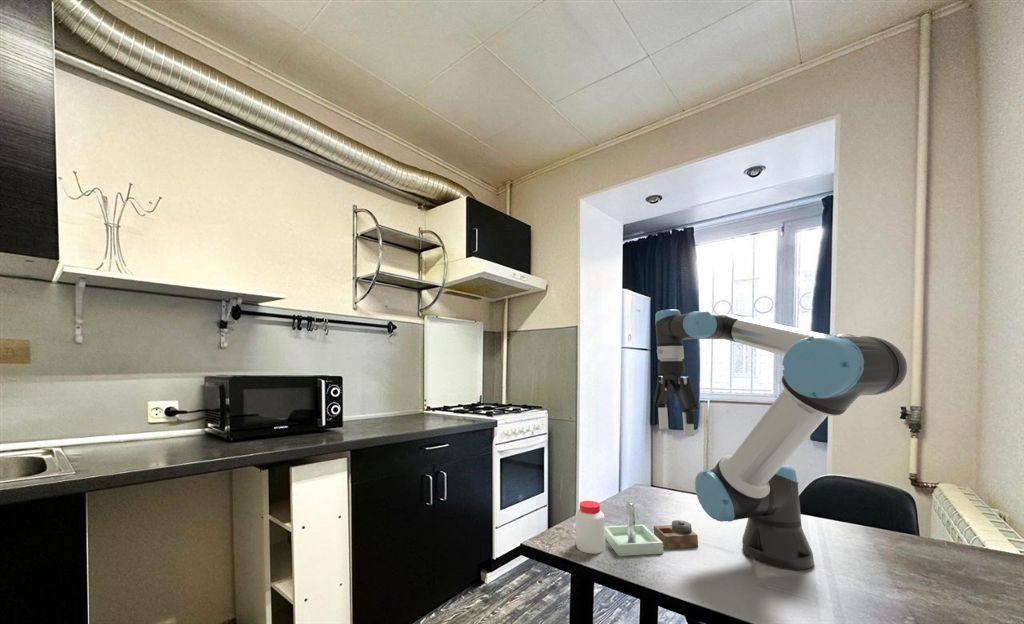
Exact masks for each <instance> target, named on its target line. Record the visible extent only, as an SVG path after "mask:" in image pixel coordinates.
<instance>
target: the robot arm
mask: <svg viewBox="0 0 1024 624" xmlns="http://www.w3.org/2000/svg"><path fill="white" fill-rule="evenodd" d="M654 326H655V336H656V337H655V338H656V348H657V349H656V353H657V359H658V360H659V361H658V363H657V368H658V373H659V374H662V375H657V376H656V387H655V392H654V397H653V405H655V406H656V408H657V413H658V428H659V429H658V430H669V416H668V415H669V414H668V405H667V403H668V401H669V399H670V396H671V394H672V393H673V394H675V396H676V398H677V399H678V401H679V403H680V406H681V407H682V411H681V412H682V414H681V415H682V427H683V436H684V437H695V425H694V423H695V422H694V421H695V420H694V412H695V411H698V410H699V406H698V403H697V401H696V397H695V395H694V393H693V390H692V387H691V384H690V378H689V376H682V374H685V373H686V367H685V365H686V364H685V362H684V361H683V360H684V359H685V354H684V353H685V352H684V343H683V341H684V340H726V341H729V342H734V343H739V344H741V345H744V346H749V347H751V348H754V349H755V348H756V349H759V350H762V351H765V352H769V353H772V354H775V355H779V356H783V358H782V366H783V369H782V377H781V379H780V380H781V385H782V387H783V389H782V391H781V392H780V393H779V395H778V396H777V397H776V398H775V400H774V401H773V402H772V404H771V405H770V406H769V408H768V409H767V410H766V412H765V413H764V414H763V415H762V417H761V418H760V420H758V422H757V424H755V426H754V427H753V428H752V429H751V431H750V432H749V433H748V435H747V436H746V437H745V439H744V440H743V441H742V443H740V445H739V446H738V448H737V449H735V452H734V453H733V454H725V455H723V456H722V457H721V458H720V459H719V460H718V462H717V463H716V465H715V466H714V467H712V469H704V470H702V471H700V472H698V473H697V474H696V476H695V480H694V489H695V494H696V496H697V499H698V500H697V501H698V503H699V504H700V506H701V508H702V509H703V511H704V512H705V513H706V514H707V516H709V517H710V518H712V519H713V520H715V521H717V522H722V523H723V522H727V523H728V522H734V521H739V520H745V519H747V521H746V526H745V528H744V531H743V536H742V540H741V543H742V544H741V545H742V550H743V552H744V553H745V554H746V555H747V556H748V557H750V558H751V559H753V560H755V561H757V562H759V563H761V564H765V565H768V566H771V567H774V568H779V569H783V570H784V569H785V570H796V571H800V570H806V569H807V570H808V569H811V568H812V567H813V566H814V564H815V561H814V553H813V550H812V548H811V546H810V544H809V543H810V542H809V541H808V539H807V537H806V534H805V532H804V529H803V527H802V517H801V515H802V514H801V504H800V493H799V481H798V478H797V472H796V469H795V468H794V467H792V466H791V465H788V464H786V462H788V460H790V458H791V457H792V456H793V455H794V454H795V453H796V452H797V451H798V449H799V448H801V446H802V445H803V444H804V443H805V442H806V441H807V440H808V438H809V437H811V436H812V434H813V433H814V432H815V430H816V429H817V428H818V427H819V426H820V425H821V424H822V423H823V422H824V421H825V419H826V418H827V417H828V416H829V417H838V416H841V415H843V414H844V413H845V412H846V411H847V410H848V409H849V408H850V407H851V406H852V405H853V403H855V401H857V399H858V398H860V396H873V395H874V396H875V395H881V394H886V393H889V392H892V391H893V390H894V389H896V388H898V387H899V386H900V385H901V384H902V383H903V381H904V380H905V377H906V376H907V372H908V364H907V359H906V357H905V356H904V354H903V352H902V351H901V350H900V349H899V348H898V347H897V346H896V345H895V344H893V343H891V342H890V341H887V340H886V339H884V338H879V337H876V336H867V335H862V336H861V335H854V334H849V333H840V334H837V335H835V334H826V333H822V332H817V331H812V330H807V329H802V328H799V327H798V328H797V327H793V326H788V325H784V324H780V323H773V322H769V321H765V320H760V319H755V318H751V317H747V316H746V315H743V314H738V313H714V312H713V313H712V312H710V311H708V310H694V311H692V312H687V313H683V314H681V310H679V309H663V310H658V311H656V313H655V322H654Z"/></svg>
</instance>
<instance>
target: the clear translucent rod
mask: <svg viewBox="0 0 1024 624" xmlns="http://www.w3.org/2000/svg"><path fill="white" fill-rule="evenodd" d="M625 507H626V508H625V509H626V510H625V511H626V525H627V536H628V543H636V529H635V525H636V513H635V511H636V510H635V507H636V506H635V502H632V501H627V502H625Z"/></svg>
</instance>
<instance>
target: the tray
mask: <svg viewBox="0 0 1024 624" xmlns="http://www.w3.org/2000/svg"><path fill="white" fill-rule="evenodd" d="M635 529H636V543H628V536H627V524H625V525H608V526H607V525H605V541H606V542H607V543H608V544H609V545H610V547H611V548H612V549H613V551H614V552H615V554H616V555H617V556H618V557H624V556H640V555H657V554H658V555H659V554H664V546H663V542H662V541H661V540H660V539H658V538H657V537H656V536H655V535H654V532H652V531H651V530H650V529H649V528H648V527H647V526H645V524H643V523H642V524H635Z"/></svg>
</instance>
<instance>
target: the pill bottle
mask: <svg viewBox="0 0 1024 624" xmlns="http://www.w3.org/2000/svg"><path fill="white" fill-rule="evenodd" d="M605 522H606V519H605V514H604V512H603V511H602V510H601V504H600V503H599V502H597V501H595V500H581V501H580V502H579V508H578V510H577V511H576V512H575V531H576V532H575V533H576V535H575V536H576V537H575V539H576V543H575V544H576V548H577V550H579V551H581V552H583V553H586V554H601V553H603V552H604V551H606V549H607V546H606V545H607V544H606V543H607V540H606V539H605V526H606V523H605Z"/></svg>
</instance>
